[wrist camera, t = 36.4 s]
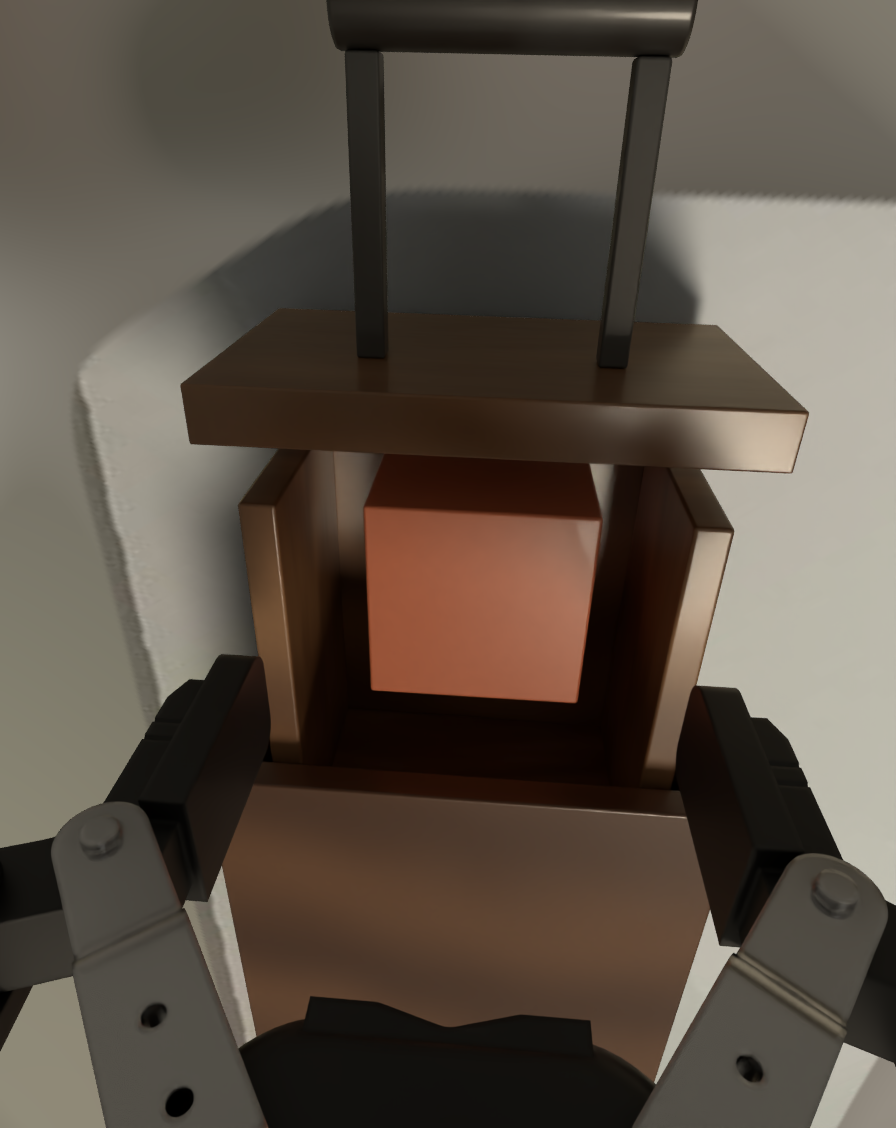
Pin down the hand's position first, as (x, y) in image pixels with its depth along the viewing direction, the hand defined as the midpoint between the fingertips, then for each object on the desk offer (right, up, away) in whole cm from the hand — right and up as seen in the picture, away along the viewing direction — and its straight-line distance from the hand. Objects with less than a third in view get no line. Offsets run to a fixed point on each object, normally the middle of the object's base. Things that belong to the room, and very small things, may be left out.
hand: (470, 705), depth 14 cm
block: (+1, +4, +7) cm, 8 cm away
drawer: (+1, +6, +7) cm, 9 cm away
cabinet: (0, -5, +15) cm, 15 cm away
